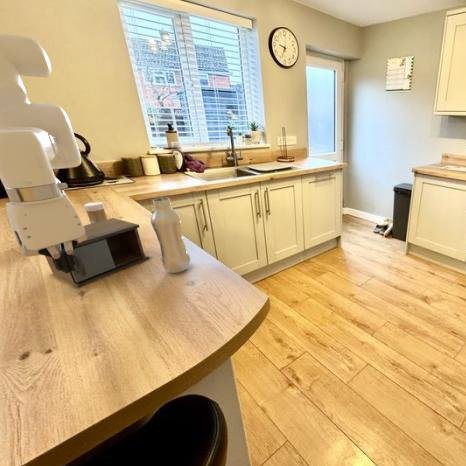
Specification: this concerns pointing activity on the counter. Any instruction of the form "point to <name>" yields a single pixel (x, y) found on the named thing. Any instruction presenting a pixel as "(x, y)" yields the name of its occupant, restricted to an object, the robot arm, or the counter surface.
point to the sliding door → (91, 260)
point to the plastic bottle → (169, 236)
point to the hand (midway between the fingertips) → (67, 270)
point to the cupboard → (119, 242)
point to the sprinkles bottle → (95, 212)
